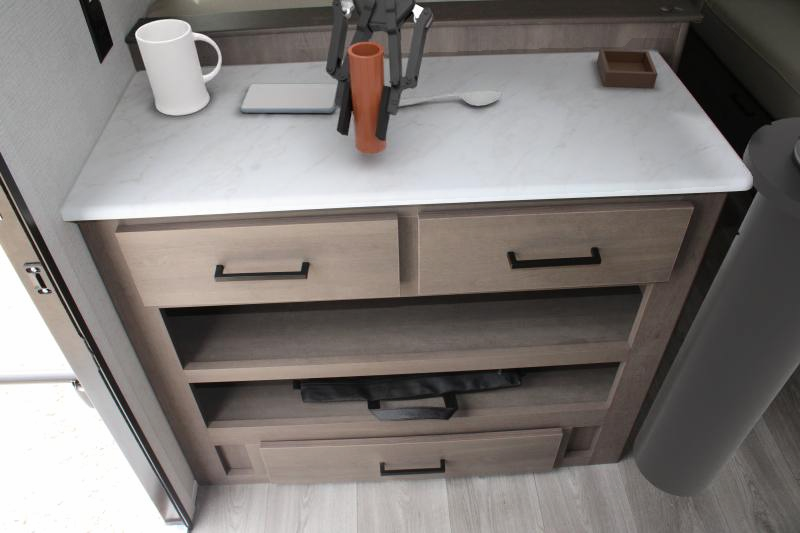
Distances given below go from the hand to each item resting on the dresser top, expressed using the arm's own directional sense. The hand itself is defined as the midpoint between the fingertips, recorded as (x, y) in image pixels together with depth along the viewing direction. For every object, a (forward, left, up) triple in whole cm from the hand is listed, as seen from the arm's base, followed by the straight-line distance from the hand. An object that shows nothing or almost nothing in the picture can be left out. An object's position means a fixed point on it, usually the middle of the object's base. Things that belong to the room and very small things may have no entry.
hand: (361, 135), depth 83 cm
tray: (-41, -32, -7) cm, 52 cm away
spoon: (-9, -21, -7) cm, 24 cm away
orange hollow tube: (-1, -4, -4) cm, 5 cm away
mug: (+30, -19, -7) cm, 36 cm away
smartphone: (+14, -20, -7) cm, 25 cm away
